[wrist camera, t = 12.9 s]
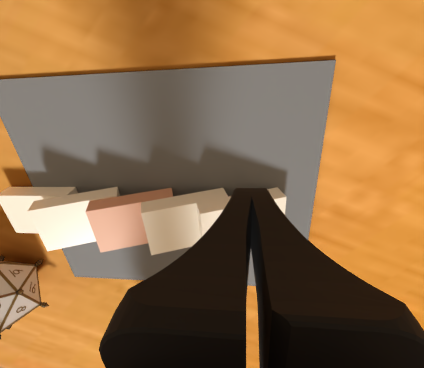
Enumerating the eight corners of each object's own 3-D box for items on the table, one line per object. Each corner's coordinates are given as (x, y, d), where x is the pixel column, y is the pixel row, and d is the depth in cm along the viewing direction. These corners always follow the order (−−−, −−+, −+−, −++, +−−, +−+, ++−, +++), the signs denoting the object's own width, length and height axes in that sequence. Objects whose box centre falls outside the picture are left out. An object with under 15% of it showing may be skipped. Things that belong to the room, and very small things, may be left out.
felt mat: (334, 59, 17) (335, 60, 17) (300, 286, 28) (300, 288, 28) (-15, 80, 20) (-17, 80, 20) (75, 275, 31) (74, 276, 31)
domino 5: (286, 196, 21) (200, 214, 19) (282, 239, 23) (204, 257, 22) (277, 187, 22) (196, 202, 21) (274, 228, 24) (200, 244, 23)
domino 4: (228, 196, 21) (141, 213, 20) (230, 238, 23) (151, 255, 22) (223, 187, 23) (141, 202, 21) (224, 227, 25) (150, 242, 24)
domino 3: (173, 196, 22) (85, 211, 21) (179, 237, 24) (100, 252, 23) (171, 187, 23) (89, 201, 22) (177, 226, 25) (103, 240, 24)
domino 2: (116, 195, 22) (27, 211, 21) (127, 234, 25) (47, 251, 23) (117, 186, 24) (33, 200, 23) (128, 224, 26) (52, 239, 25)
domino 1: (65, 196, 23) (-5, 195, 24) (81, 234, 25) (16, 232, 26) (75, 186, 24) (9, 186, 25) (89, 224, 27) (27, 222, 27)
